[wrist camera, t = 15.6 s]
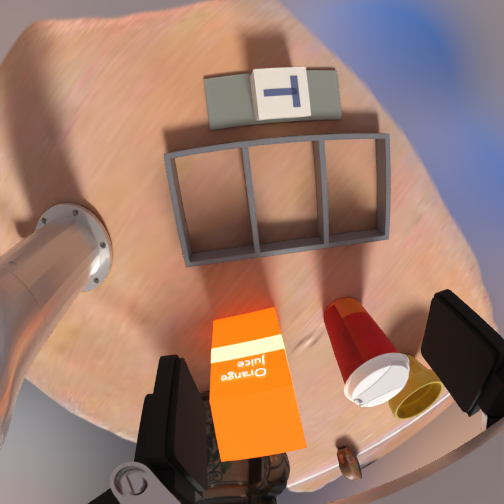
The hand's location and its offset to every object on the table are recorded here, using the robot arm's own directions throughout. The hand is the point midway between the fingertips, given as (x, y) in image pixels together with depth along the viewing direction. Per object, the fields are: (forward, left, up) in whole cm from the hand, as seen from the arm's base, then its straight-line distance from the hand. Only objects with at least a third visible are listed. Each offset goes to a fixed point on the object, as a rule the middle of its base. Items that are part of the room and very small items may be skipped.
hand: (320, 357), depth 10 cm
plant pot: (+24, -35, -27) cm, 50 cm away
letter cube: (+3, +11, -26) cm, 28 cm away
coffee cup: (+11, -19, -27) cm, 35 cm away
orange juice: (-3, -20, -27) cm, 34 cm away
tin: (+17, -69, -27) cm, 76 cm away
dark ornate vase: (-9, -38, -27) cm, 47 cm away
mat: (+3, +11, -26) cm, 29 cm away
